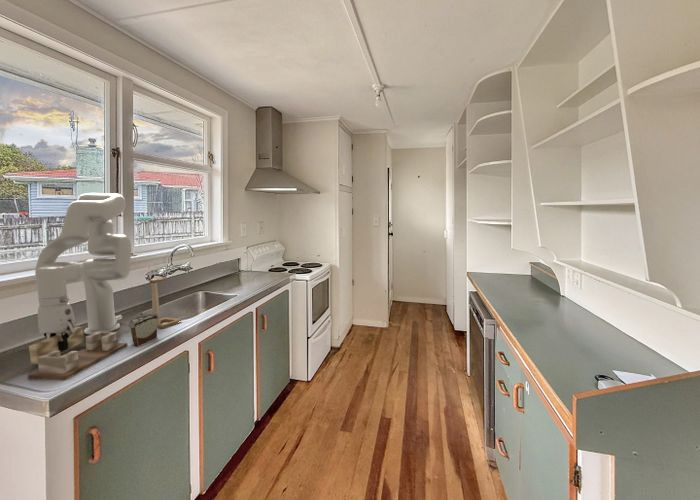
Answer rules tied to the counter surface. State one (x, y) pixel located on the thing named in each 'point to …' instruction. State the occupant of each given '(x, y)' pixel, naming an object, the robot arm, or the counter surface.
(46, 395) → the counter surface
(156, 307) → the headphone stand
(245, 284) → the counter surface
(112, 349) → the board
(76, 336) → the slat
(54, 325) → the robot arm
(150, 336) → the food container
